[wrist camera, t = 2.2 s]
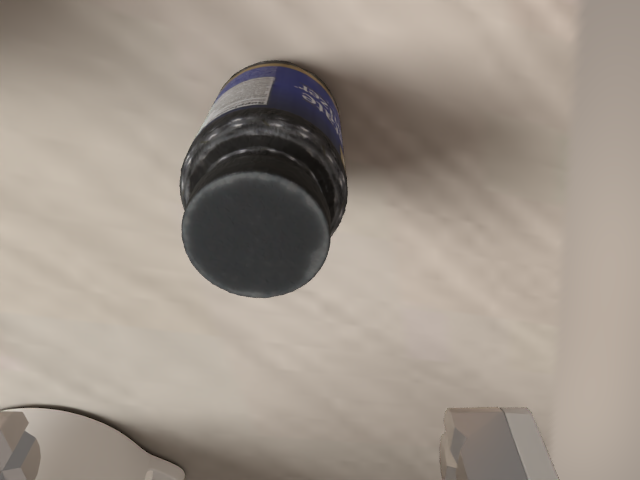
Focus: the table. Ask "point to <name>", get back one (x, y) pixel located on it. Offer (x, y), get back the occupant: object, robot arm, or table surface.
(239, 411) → the table surface
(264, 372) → the table surface
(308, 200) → the pill bottle
